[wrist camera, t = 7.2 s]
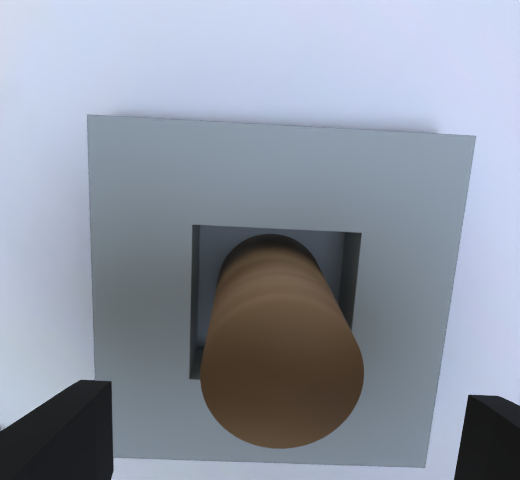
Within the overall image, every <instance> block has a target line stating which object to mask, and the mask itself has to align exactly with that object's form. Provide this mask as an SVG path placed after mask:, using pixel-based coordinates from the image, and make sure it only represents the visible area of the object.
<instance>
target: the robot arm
mask: <svg viewBox="0 0 520 480" xmlns="http://www.w3.org/2000/svg"><path fill="white" fill-rule="evenodd" d="M112 474H113V424H112V381H97V380H80V381H78V382H76V383H74V384H73V385H71V386H69V387H68V388H66V389H65V390H63V391H62V392H60V393H59V394H57V395H55V396H54V397H52V398H51V399H49V400H48V401H46V402H45V403H43V404H42V405H40V406H39V407H37V408H36V409H34V410H33V411H31V412H30V413H28V414H27V415H25V416H24V417H22V418H21V419H19V420H17V421H16V422H14V423H13V424H11V425H10V426H8V427H7V428H5V429H4V430H2V431H1V432H0V480H111V477H112ZM454 480H520V406H519V405H517V404H515V403H513V402H511V401H509V400H506V399H504V398H502V397H499V396H486V395H468V401H467V407H466V413H465V419H464V425H463V430H462V436H461V442H460V448H459V454H458V460H457V466H456V471H455V477H454Z"/></svg>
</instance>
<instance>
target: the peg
mask: <svg viewBox="0 0 520 480" xmlns="http://www.w3.org/2000/svg"><path fill="white" fill-rule="evenodd" d="M363 382H364V364H363V358H362V354H361V351H360V348H359V346H358V344H357V342H356V340H355V338H354V336H353V334H352V332H351V330H350V328H349V326H348V324H347V322H346V320H345V318H344V316H343V314H342V312H341V310H340V308H339V306H338V304H337V302H336V300H335V298H334V296H333V294H332V292H331V290H330V288H329V286H328V284H327V282H326V280H325V278H324V276H323V274H322V272H321V270H320V268H319V266H318V264H317V262H316V260H315V258H314V256H313V255H312V253H311V252H310V251H309V250H308V249H307V248H306V247H305V246H304V245H302V244H301V243H300V242H298V241H296V240H295V239H292V238H290V237H287V236H284V235H279V234H261V235H257V236H254V237H251V238H248V239H246V240H244V241H242V242H241V243H240V244H238V245H237V246H236V247H235V248H233V249H232V250H231V252H230V253H229V254H228V255H227V257H226V258H225V260H224V262H223V264H222V266H221V269H220V273H219V278H218V283H217V288H216V293H215V298H214V303H213V308H212V313H211V318H210V323H209V328H208V333H207V338H206V343H205V348H204V353H203V358H202V363H201V369H200V383H201V390H202V394H203V397H204V400H205V402H206V405H207V407H208V409H209V410H210V412H211V414H212V415H213V417H214V418H215V419H216V420H217V422H218V423H219V424H220V425H221V426H222V427H223V428H224V429H225V430H227V431H228V432H229V433H231V434H232V435H234V436H235V437H237V438H239V439H241V440H243V441H245V442H247V443H250V444H253V445H256V446H260V447H265V448H272V449H287V448H295V447H300V446H304V445H308V444H311V443H314V442H316V441H318V440H320V439H322V438H324V437H326V436H327V435H329V434H330V433H332V432H333V431H334V430H336V429H337V428H338V427H339V426H340V425H341V424H342V423H343V422H344V421H345V420H346V419H347V418H348V417H349V415H350V414H351V413H352V411H353V409H354V408H355V406H356V404H357V402H358V400H359V397H360V395H361V391H362V387H363Z"/></svg>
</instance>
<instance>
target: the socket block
mask: <svg viewBox="0 0 520 480" xmlns="http://www.w3.org/2000/svg"><path fill="white" fill-rule="evenodd" d="M87 132H88V165H89V198H90V231H91V264H92V297H93V330H94V363H95V380H97V381H112V424H113V458H140V459H170V460H201V461H232V462H263V463H293V464H324V465H355V466H386V467H416V468H425V464H426V458H427V451H428V445H429V438H430V432H431V425H432V419H433V412H434V406H435V399H436V393H437V386H438V380H439V374H440V367H441V361H442V354H443V348H444V341H445V335H446V328H447V322H448V315H449V309H450V302H451V296H452V289H453V283H454V276H455V270H456V264H457V257H458V251H459V244H460V238H461V231H462V225H463V218H464V212H465V205H466V199H467V192H468V186H469V179H470V173H471V167H472V160H473V154H474V147H475V141H476V136H471V135H452V134H434V133H416V132H397V131H379V130H361V129H343V128H324V127H306V126H288V125H270V124H251V123H233V122H215V121H196V120H178V119H160V118H142V117H123V116H105V115H87ZM261 234H279V235H284V236H287V237H290V238H292V239H295V240H296V241H298V242H300V243H301V244H302V245H304V246H305V247H306V248H307V249H308V250H309V251H310V252H311V253H312V255H313V256H314V258H315V260H316V262H317V264H318V266H319V268H320V270H321V272H322V274H323V276H324V278H325V280H326V282H327V284H328V286H329V288H330V290H331V292H332V294H333V296H334V298H335V300H336V302H337V304H338V306H339V308H340V310H341V312H342V314H343V316H344V318H345V320H346V322H347V324H348V326H349V328H350V330H351V332H352V334H353V336H354V338H355V340H356V342H357V344H358V346H359V348H360V351H361V354H362V358H363V364H364V382H363V387H362V391H361V395H360V397H359V400H358V402H357V404H356V406H355V408H354V409H353V411H352V413H351V414H350V415H349V417H348V418H347V419H346V420H345V421H344V422H343V423H342V424H341V425H340V426H339V427H338V428H337V429H336V430H334V431H333V432H332V433H330V434H329V435H327V436H326V437H324V438H322V439H320V440H318V441H316V442H314V443H311V444H308V445H304V446H300V447H295V448H287V449H272V448H265V447H260V446H256V445H253V444H250V443H247V442H245V441H243V440H241V439H239V438H237V437H235V436H234V435H232V434H231V433H229V432H228V431H227V430H225V429H224V428H223V427H222V426H221V425H220V424H219V423H218V422H217V420H216V419H215V418H214V417H213V415H212V414H211V412H210V410H209V409H208V407H207V405H206V402H205V400H204V397H203V394H202V390H201V383H200V369H201V363H202V358H203V353H204V348H205V343H206V338H207V333H208V328H209V323H210V318H211V313H212V308H213V303H214V298H215V293H216V288H217V283H218V278H219V273H220V269H221V266H222V264H223V262H224V260H225V258H226V257H227V255H228V254H229V253H230V252H231V250H232V249H233V248H235V247H236V246H237V245H238V244H240V243H241V242H242V241H244V240H246V239H248V238H251V237H254V236H257V235H261Z"/></svg>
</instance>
